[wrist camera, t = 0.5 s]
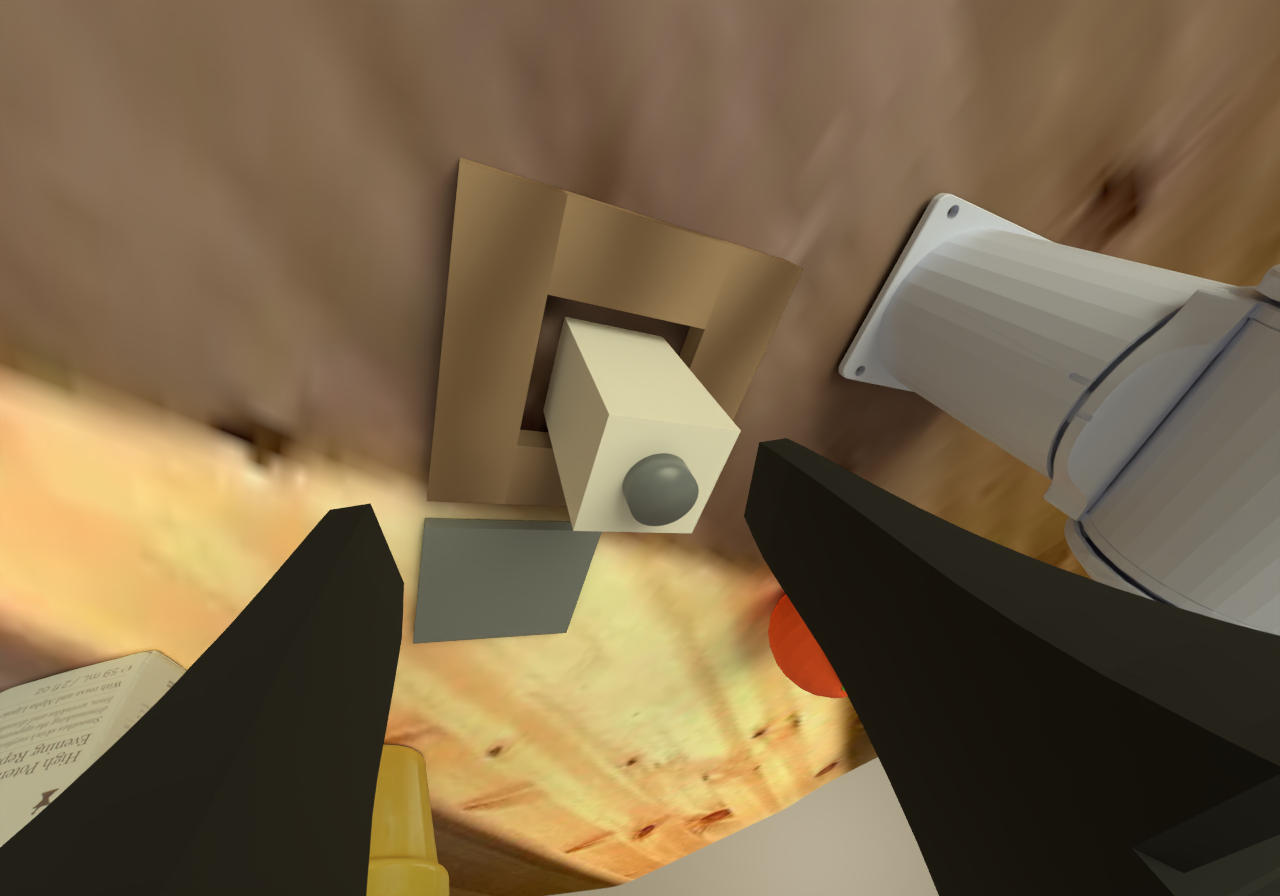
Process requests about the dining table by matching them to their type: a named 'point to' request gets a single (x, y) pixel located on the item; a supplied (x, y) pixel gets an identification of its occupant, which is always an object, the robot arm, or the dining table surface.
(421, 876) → the plant pot
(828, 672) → the clementine
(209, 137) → the dining table surface
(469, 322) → the holder
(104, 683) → the skincare box
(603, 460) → the plug
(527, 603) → the coaster
